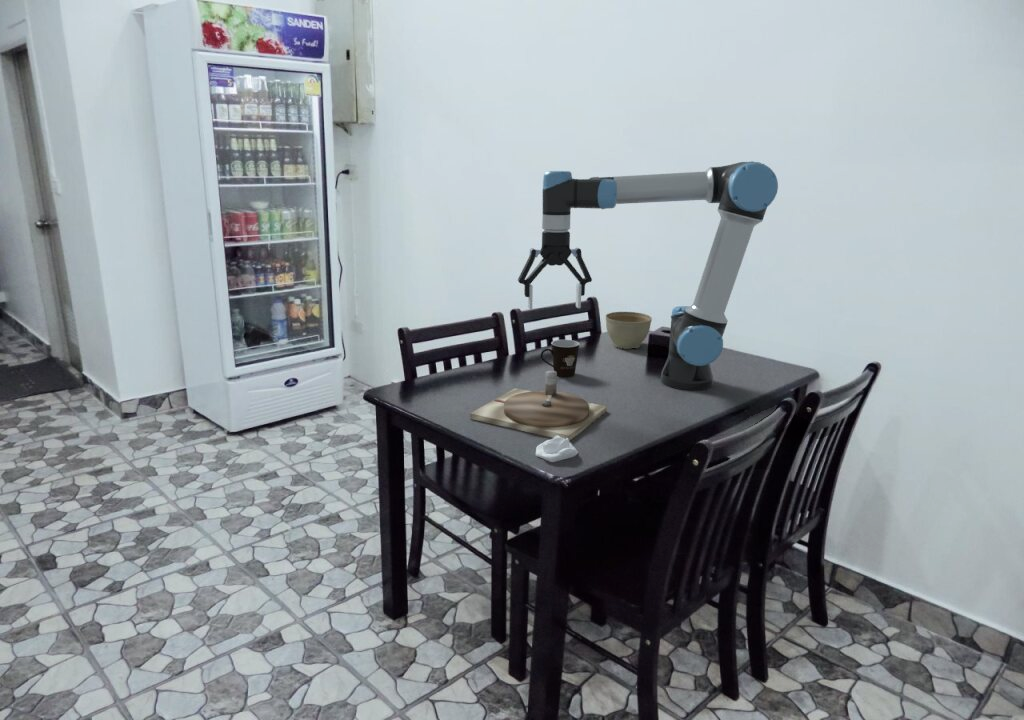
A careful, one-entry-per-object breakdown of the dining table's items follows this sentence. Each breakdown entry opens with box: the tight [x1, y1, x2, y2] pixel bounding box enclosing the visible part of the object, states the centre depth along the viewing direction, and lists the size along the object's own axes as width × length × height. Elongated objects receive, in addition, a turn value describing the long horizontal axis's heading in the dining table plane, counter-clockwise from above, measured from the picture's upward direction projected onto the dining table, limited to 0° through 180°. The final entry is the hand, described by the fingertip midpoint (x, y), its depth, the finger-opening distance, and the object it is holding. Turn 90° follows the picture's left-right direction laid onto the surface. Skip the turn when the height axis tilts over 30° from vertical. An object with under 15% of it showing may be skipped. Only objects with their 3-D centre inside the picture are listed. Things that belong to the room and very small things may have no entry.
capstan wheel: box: [504, 370, 589, 427], centre depth 174 cm, size 22×22×8 cm
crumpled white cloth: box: [535, 436, 579, 463], centre depth 153 cm, size 10×4×10 cm
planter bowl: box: [605, 311, 653, 350], centre depth 241 cm, size 16×16×11 cm
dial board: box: [469, 388, 608, 442], centre depth 176 cm, size 28×23×2 cm
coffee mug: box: [540, 339, 580, 379], centre depth 209 cm, size 12×9×10 cm
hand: (554, 308), depth 188 cm, fingers open, 13 cm apart
